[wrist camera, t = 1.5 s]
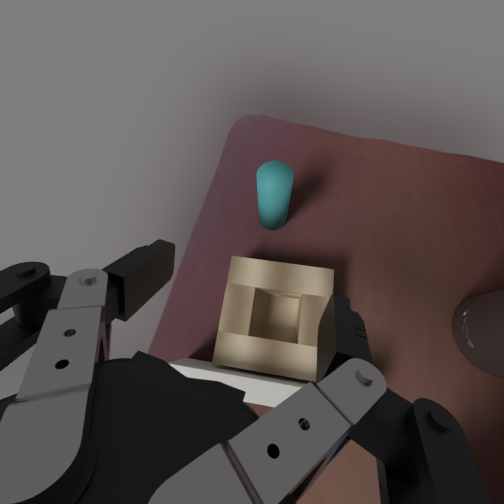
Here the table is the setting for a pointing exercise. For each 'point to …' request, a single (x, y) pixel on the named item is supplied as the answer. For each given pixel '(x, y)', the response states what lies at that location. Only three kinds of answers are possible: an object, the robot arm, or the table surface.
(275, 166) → the teal rounded cylinder
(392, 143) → the table surface
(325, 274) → the socket block
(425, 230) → the table surface
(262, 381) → the backstop wall
